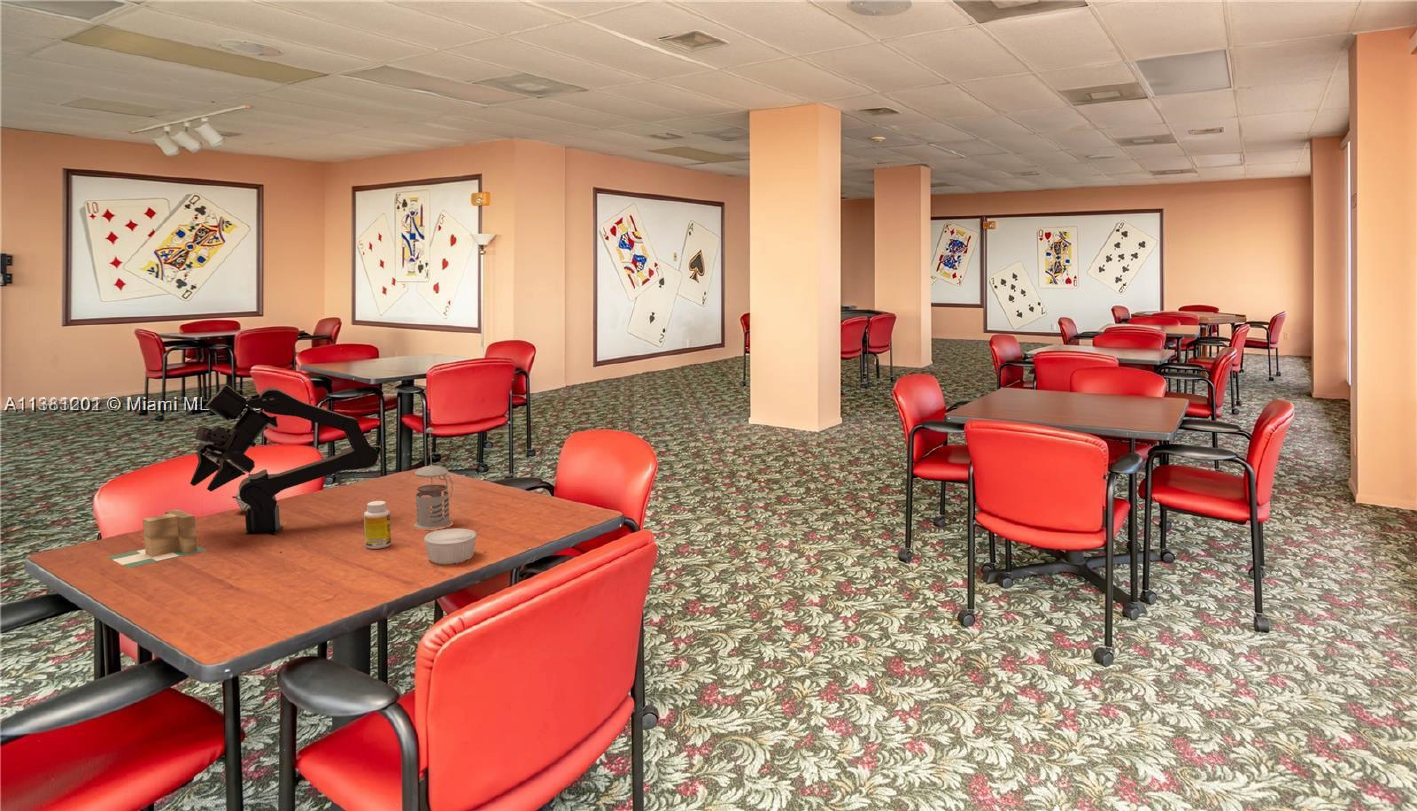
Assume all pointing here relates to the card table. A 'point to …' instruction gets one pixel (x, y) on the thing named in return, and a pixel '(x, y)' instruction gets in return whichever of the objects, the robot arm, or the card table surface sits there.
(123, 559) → the board
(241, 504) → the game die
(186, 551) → the oak t block
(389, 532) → the supplement bottle
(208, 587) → the card table surface
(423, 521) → the french press
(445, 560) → the ramekin
